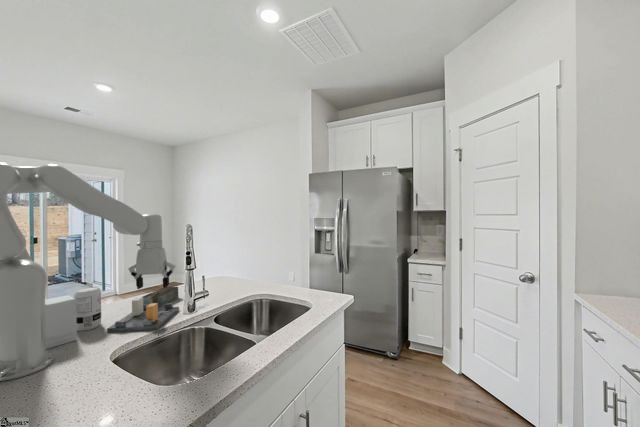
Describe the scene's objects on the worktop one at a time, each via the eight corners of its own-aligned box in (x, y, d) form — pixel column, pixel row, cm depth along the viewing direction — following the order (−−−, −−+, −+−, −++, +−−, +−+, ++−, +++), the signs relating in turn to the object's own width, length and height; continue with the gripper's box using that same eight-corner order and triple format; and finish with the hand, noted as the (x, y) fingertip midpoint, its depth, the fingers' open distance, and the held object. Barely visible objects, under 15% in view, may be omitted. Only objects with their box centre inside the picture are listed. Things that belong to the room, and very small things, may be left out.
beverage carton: (137, 310, 127) (137, 296, 127) (165, 297, 146) (165, 285, 146) (152, 311, 126) (152, 296, 126) (179, 298, 145) (179, 285, 145)
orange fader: (153, 322, 108) (152, 306, 108) (146, 323, 107) (146, 306, 107) (157, 318, 112) (157, 302, 112) (151, 319, 111) (151, 303, 111)
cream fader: (138, 315, 115) (138, 299, 115) (132, 315, 115) (131, 300, 115) (143, 311, 119) (143, 296, 119) (137, 312, 119) (137, 297, 119)
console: (157, 329, 105) (157, 320, 105) (107, 332, 103) (107, 323, 103) (179, 310, 126) (178, 302, 126) (137, 312, 124) (137, 304, 124)
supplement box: (77, 340, 98) (77, 298, 97) (42, 350, 90) (42, 305, 90) (69, 333, 103) (69, 294, 102) (35, 343, 95) (35, 301, 95)
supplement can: (70, 329, 107) (69, 291, 107) (95, 321, 114) (94, 285, 114) (80, 333, 103) (79, 293, 103) (105, 325, 110) (104, 288, 110)
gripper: (122, 247, 105) (124, 291, 105) (170, 245, 107) (171, 289, 107) (133, 244, 112) (135, 285, 112) (177, 243, 114) (179, 283, 114)
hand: (153, 287), depth 110 cm, fingers open, 9 cm apart
